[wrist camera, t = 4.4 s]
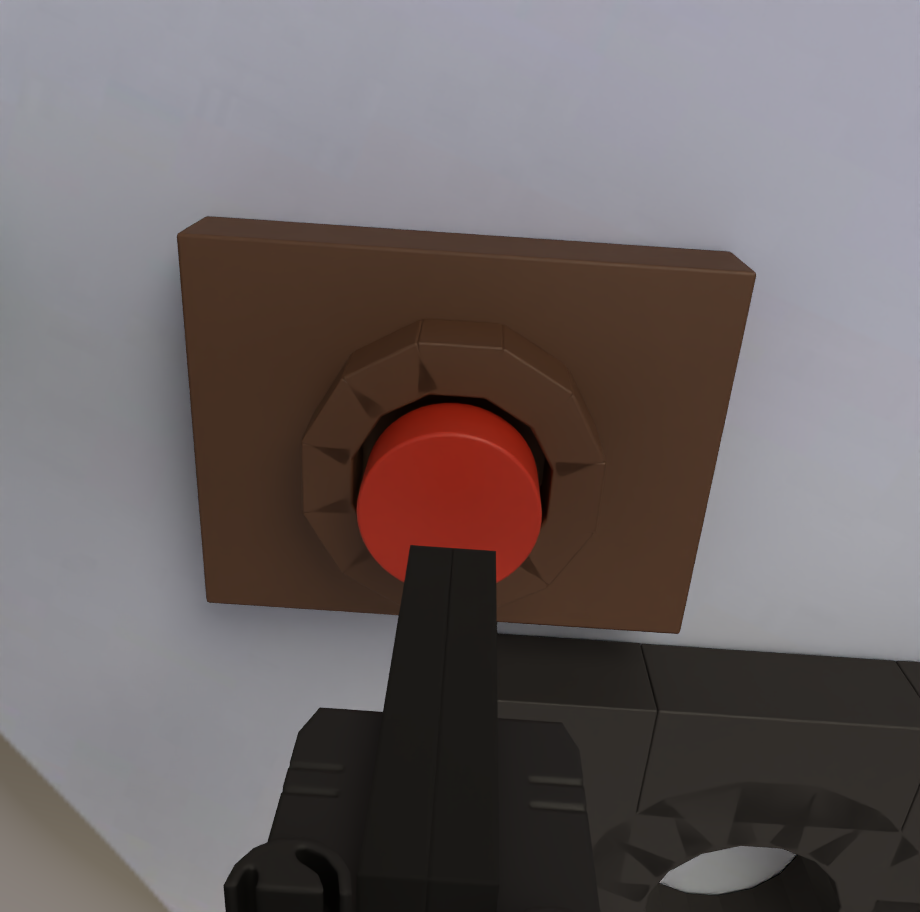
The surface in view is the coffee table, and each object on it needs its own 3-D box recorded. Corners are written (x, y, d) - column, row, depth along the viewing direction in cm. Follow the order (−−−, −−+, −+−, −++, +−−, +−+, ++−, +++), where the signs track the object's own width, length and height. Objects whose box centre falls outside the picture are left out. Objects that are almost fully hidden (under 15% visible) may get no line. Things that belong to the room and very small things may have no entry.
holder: (446, 965, 33) (443, 1047, 30) (475, 631, 26) (474, 698, 23) (908, 996, 33) (946, 1080, 30) (1059, 670, 26) (1126, 742, 23)
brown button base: (227, 560, 25) (184, 645, 22) (204, 215, 21) (146, 250, 17) (665, 589, 25) (694, 679, 22) (732, 251, 21) (783, 293, 17)
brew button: (365, 548, 21) (355, 589, 19) (367, 394, 19) (356, 426, 17) (529, 559, 21) (532, 601, 19) (546, 407, 19) (551, 439, 17)
